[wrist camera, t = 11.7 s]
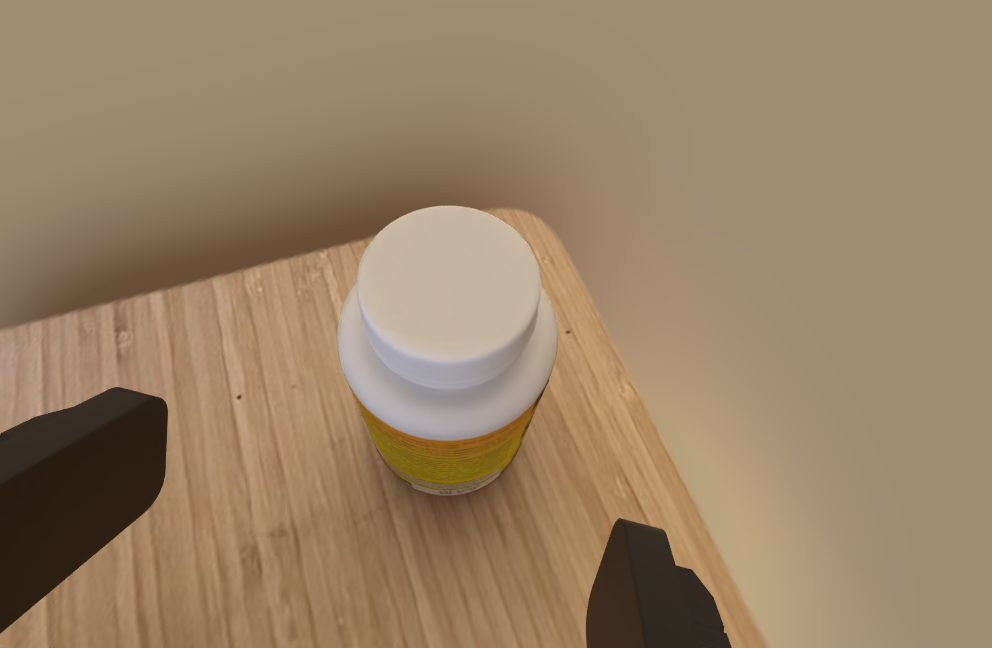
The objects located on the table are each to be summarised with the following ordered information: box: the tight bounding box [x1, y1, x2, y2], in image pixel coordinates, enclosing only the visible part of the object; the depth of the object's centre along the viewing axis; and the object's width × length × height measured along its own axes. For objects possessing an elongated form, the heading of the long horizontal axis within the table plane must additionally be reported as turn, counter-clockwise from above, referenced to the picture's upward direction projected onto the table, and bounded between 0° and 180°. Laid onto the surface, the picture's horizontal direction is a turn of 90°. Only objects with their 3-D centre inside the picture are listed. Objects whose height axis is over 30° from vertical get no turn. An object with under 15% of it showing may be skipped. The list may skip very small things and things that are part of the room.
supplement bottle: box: [337, 206, 558, 495], centre depth 16 cm, size 6×6×10 cm
